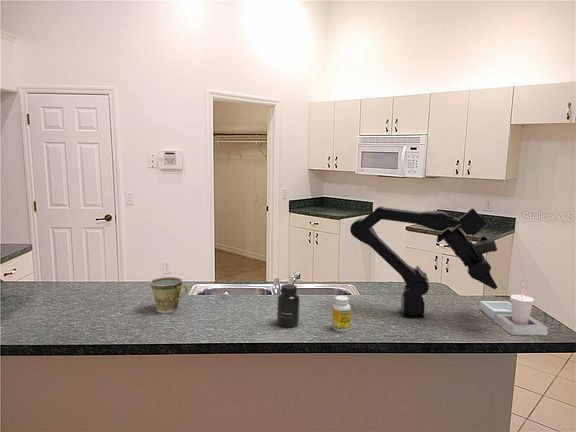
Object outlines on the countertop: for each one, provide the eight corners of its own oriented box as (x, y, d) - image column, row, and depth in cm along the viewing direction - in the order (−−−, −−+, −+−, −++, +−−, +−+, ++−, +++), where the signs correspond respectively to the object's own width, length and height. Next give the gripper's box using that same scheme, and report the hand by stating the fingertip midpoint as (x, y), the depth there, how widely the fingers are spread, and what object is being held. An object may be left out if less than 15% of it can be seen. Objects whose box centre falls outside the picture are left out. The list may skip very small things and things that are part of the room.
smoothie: (530, 326, 128) (534, 282, 126) (532, 334, 122) (537, 288, 120) (506, 322, 130) (510, 279, 128) (508, 330, 124) (512, 285, 123)
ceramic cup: (144, 312, 134) (143, 283, 133) (164, 303, 144) (163, 275, 142) (177, 318, 130) (176, 288, 128) (195, 308, 139) (195, 280, 137)
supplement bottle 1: (283, 329, 122) (283, 290, 121) (273, 321, 128) (273, 284, 127) (303, 325, 126) (303, 287, 124) (292, 318, 132) (293, 281, 130)
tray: (493, 320, 132) (494, 311, 132) (479, 309, 142) (480, 301, 141) (523, 320, 132) (524, 311, 132) (507, 309, 142) (508, 301, 141)
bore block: (511, 335, 121) (512, 327, 120) (493, 321, 131) (494, 313, 131) (546, 335, 121) (547, 327, 121) (526, 321, 131) (527, 314, 131)
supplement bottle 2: (342, 323, 128) (342, 293, 126) (353, 329, 123) (354, 298, 122) (328, 327, 125) (329, 296, 124) (340, 333, 120) (341, 301, 119)
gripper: (487, 234, 117) (524, 277, 116) (478, 224, 135) (510, 262, 134) (454, 256, 121) (489, 299, 119) (449, 244, 139) (480, 281, 137)
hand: (493, 284), depth 127 cm, fingers open, 9 cm apart
